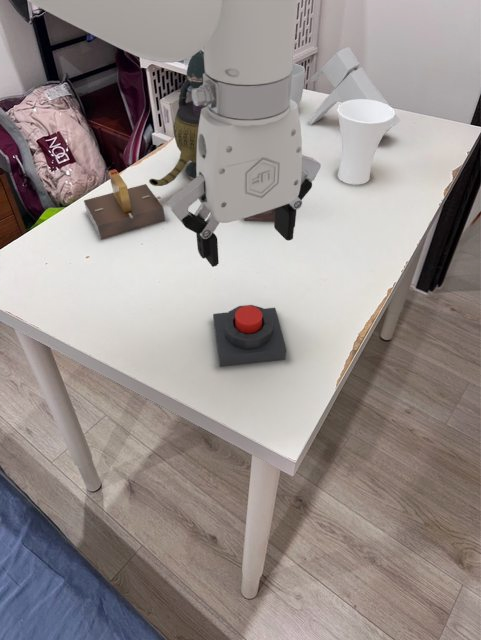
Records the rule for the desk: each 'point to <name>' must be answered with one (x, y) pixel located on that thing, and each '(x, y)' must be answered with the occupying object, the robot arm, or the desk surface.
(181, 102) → the teapot
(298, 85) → the mug
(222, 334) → the dark grey squat piece
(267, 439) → the desk surface
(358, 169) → the cup
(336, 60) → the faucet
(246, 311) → the red short cylinder
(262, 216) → the box
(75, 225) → the desk surface
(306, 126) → the desk surface
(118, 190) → the tap handle
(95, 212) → the tap block
